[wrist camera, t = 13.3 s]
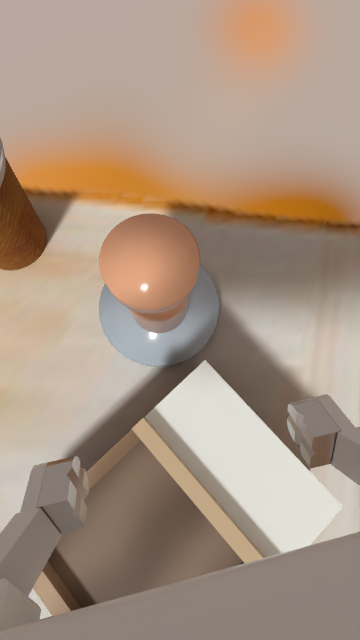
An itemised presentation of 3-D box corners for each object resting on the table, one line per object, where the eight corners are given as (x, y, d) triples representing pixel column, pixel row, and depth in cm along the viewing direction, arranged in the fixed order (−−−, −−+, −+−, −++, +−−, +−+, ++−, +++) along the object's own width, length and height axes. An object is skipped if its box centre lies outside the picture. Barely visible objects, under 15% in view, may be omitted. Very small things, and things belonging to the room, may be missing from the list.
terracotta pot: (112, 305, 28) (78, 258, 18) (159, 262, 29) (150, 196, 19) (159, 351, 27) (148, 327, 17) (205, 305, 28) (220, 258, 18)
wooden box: (39, 517, 25) (5, 548, 20) (199, 366, 28) (204, 360, 23) (144, 661, 23) (135, 734, 18) (306, 481, 26) (336, 502, 21)
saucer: (78, 305, 29) (74, 302, 28) (164, 233, 31) (163, 228, 30) (155, 392, 27) (154, 392, 26) (242, 311, 29) (244, 308, 28)
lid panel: (135, 425, 22) (131, 428, 20) (204, 360, 23) (206, 358, 21) (267, 582, 20) (276, 600, 18) (336, 502, 21) (351, 512, 19)
